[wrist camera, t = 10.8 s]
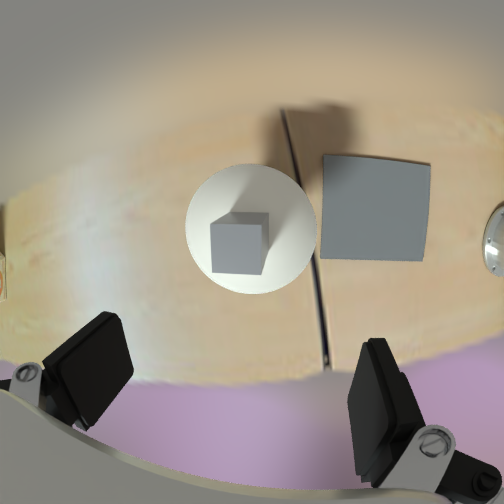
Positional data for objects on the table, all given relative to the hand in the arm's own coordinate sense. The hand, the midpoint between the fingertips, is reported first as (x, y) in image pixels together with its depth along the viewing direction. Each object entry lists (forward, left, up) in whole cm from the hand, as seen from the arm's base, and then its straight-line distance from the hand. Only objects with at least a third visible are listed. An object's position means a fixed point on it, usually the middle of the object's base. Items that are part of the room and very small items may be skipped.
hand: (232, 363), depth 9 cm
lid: (+2, -2, -17) cm, 17 cm away
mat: (-14, -2, -29) cm, 32 cm away
